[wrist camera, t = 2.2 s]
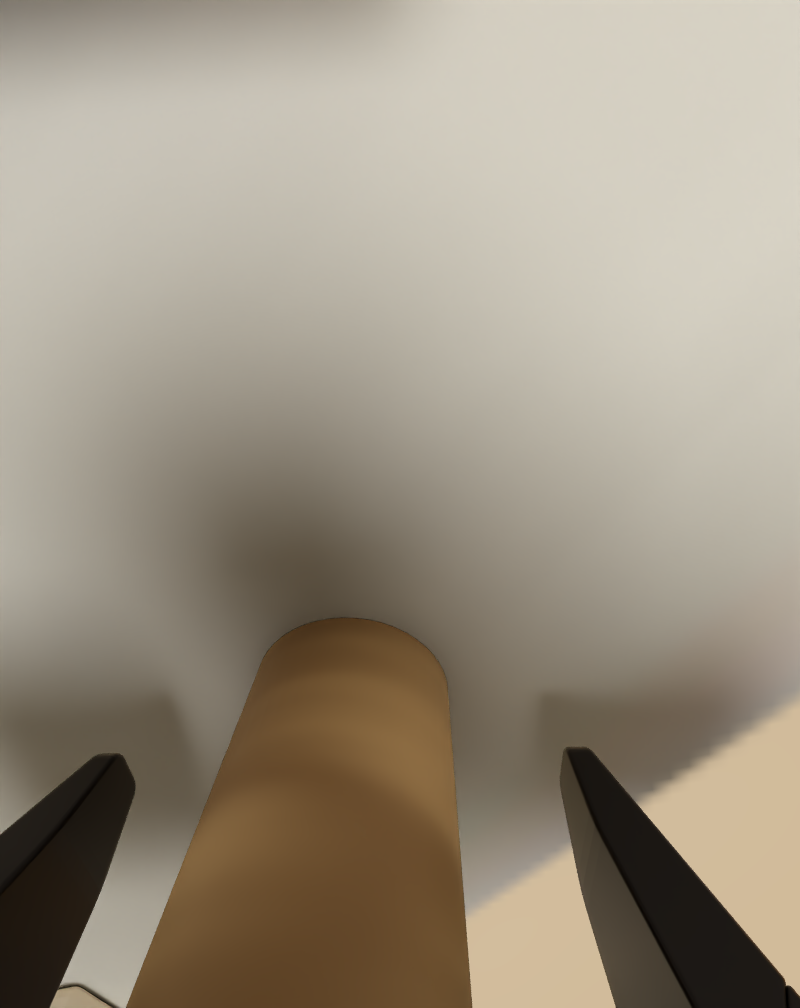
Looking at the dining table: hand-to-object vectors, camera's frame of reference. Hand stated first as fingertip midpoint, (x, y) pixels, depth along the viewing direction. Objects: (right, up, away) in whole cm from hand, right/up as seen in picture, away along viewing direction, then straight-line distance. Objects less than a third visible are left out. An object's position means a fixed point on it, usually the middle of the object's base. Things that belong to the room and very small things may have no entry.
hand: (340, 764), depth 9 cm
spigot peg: (0, +1, +2) cm, 2 cm away
